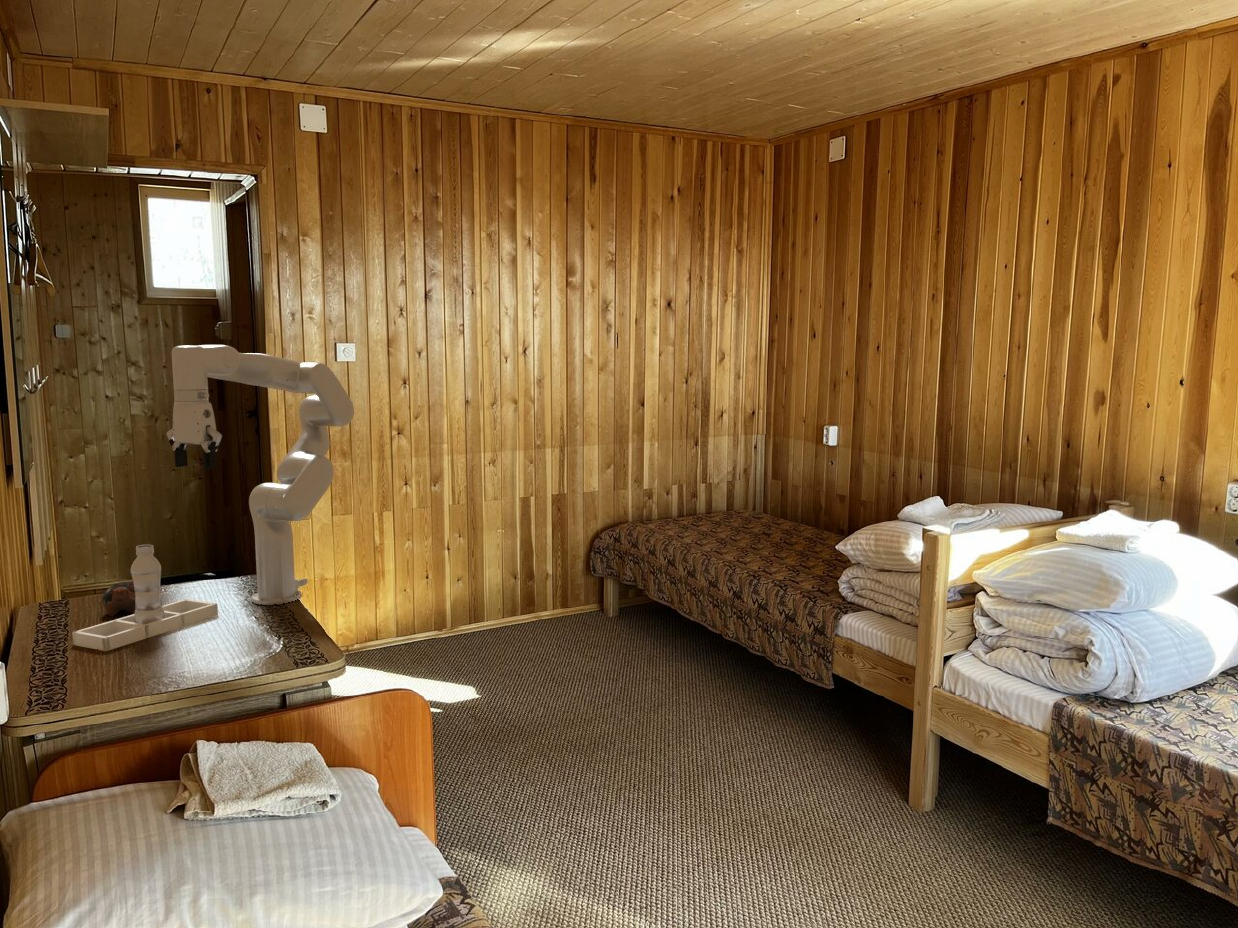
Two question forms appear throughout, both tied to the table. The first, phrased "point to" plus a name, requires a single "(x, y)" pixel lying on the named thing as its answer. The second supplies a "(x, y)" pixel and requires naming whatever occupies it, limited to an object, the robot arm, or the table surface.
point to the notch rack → (143, 625)
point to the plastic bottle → (147, 586)
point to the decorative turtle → (119, 598)
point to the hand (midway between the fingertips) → (195, 467)
